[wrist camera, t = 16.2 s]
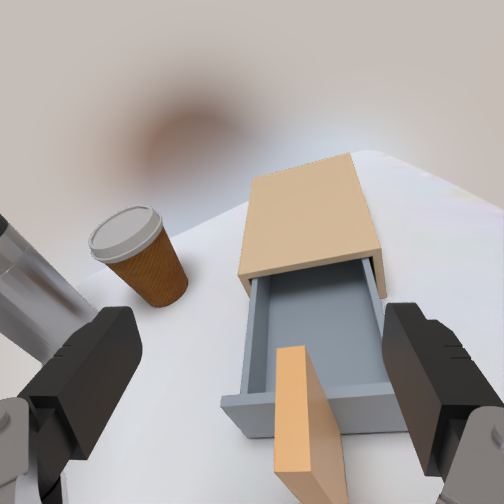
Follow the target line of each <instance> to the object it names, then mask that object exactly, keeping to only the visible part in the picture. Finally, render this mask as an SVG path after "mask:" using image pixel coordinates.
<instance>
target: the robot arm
mask: <svg viewBox="0 0 504 504" xmlns="http://www.w3.org/2000/svg"><path fill="white" fill-rule="evenodd" d="M0 333H2V334H3V335H4V336H6V337H7V338H8V339H10V340H11V341H13V342H14V343H15V344H17V345H18V346H19V347H21V348H22V349H23V350H25V351H26V352H27V353H29V354H30V355H31V356H33V357H34V358H35V359H37V360H38V361H40V362H41V363H42V364H44V366H43V367H42V369H41V370H40V371H39V372H38V373H37V374H36V375H35V377H34V378H33V379H32V380H31V381H30V382H29V383H28V384H27V386H26V387H25V388H24V389H23V390H22V391H21V392H20V393H19V395H18V396H17V397H14V398H13V397H12V398H7V399H3V400H0V504H68V494H67V483H66V476H65V473H64V471H63V469H64V467H65V466H66V464H67V462H68V461H69V460H87V459H88V458H89V456H90V454H91V452H92V450H93V448H94V446H95V445H96V443H97V441H98V439H99V437H100V435H101V434H102V432H103V430H104V428H105V426H106V424H107V422H108V421H109V419H110V417H111V415H112V413H113V411H114V409H115V408H116V406H117V404H118V402H119V400H120V398H121V397H122V395H123V393H124V391H125V389H126V387H127V385H128V384H129V382H130V380H131V378H132V376H133V374H134V373H135V371H136V369H137V367H138V365H139V363H140V361H141V357H142V342H141V338H140V335H139V331H138V328H137V324H136V321H135V317H134V314H133V311H132V309H131V308H130V307H128V306H122V307H104V308H103V309H102V310H101V311H100V312H99V313H98V312H97V311H96V310H95V309H94V308H93V307H92V306H91V305H90V304H89V303H88V302H87V301H86V300H85V299H84V298H83V297H82V296H81V295H80V294H79V293H78V292H77V291H76V290H75V289H74V288H73V287H72V286H71V285H70V284H69V283H68V282H67V281H66V280H65V279H64V278H63V277H62V276H61V275H60V274H59V273H58V272H57V271H56V270H55V269H54V268H53V267H52V266H51V265H50V264H49V263H48V262H47V261H46V260H45V259H44V258H43V257H42V256H41V255H40V254H39V253H38V252H37V251H36V250H35V249H34V248H33V247H32V246H31V244H29V243H28V242H27V241H26V240H25V239H24V238H23V237H22V236H21V235H20V234H19V233H18V232H17V231H16V230H15V229H14V228H13V227H12V226H11V225H10V224H9V223H8V222H7V221H6V219H5V218H4V217H3V216H2V215H1V214H0ZM382 357H383V362H384V366H385V368H386V371H387V374H388V377H389V379H390V382H391V385H392V387H393V390H394V393H395V396H396V398H397V401H398V404H399V407H400V409H401V412H402V415H403V417H404V420H405V423H406V426H407V428H408V431H409V434H410V437H411V439H412V442H413V445H414V448H415V450H416V453H417V456H418V458H419V461H420V464H421V467H422V469H423V472H424V475H425V476H433V477H442V479H443V482H444V487H443V490H442V492H441V494H440V495H439V497H438V499H437V502H436V504H504V403H503V402H502V401H501V399H500V398H499V396H498V395H497V394H496V392H495V391H494V389H493V388H492V386H491V385H490V384H489V382H488V381H487V379H486V378H485V377H484V375H483V374H482V372H481V371H480V369H479V368H478V367H477V365H476V364H475V362H474V361H472V360H471V357H470V355H469V354H468V352H467V351H466V350H465V348H463V345H462V344H461V343H460V341H459V340H458V338H457V337H456V335H455V334H454V333H453V331H451V330H450V329H449V328H447V327H446V326H445V325H443V324H442V323H440V322H439V321H438V320H427V319H426V318H425V316H424V315H423V313H422V311H421V310H420V308H419V307H418V305H417V304H416V303H387V305H386V309H385V318H384V327H383V336H382Z"/></svg>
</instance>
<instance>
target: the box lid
mask: <svg viewBox="0 0 504 504" xmlns="http://www.w3.org/2000/svg"><path fill="white" fill-rule="evenodd" d="M364 257H368V258H369V262H370V266H371V269H372V273H373V276H374V280H375V284H376V287H377V291H378V295H379V298H386V297H387V294H386V285H385V277H384V268H383V260H382V251H381V246H380V243H379V240H378V237H377V234H376V231H375V228H374V225H373V222H372V219H371V216H370V213H369V210H368V207H367V204H366V201H365V198H364V195H363V192H362V189H361V186H360V182H359V179H358V176H357V173H356V170H355V167H354V164H353V161H352V158H351V155H350V153H346V154H342V155H338V156H334V157H331V158H327V159H323V160H319V161H316V162H312V163H308V164H305V165H301V166H297V167H294V168H290V169H286V170H283V171H279V172H275V173H272V174H268V175H264V176H261V177H257V178H253V179H252V186H251V192H250V199H249V205H248V212H247V218H246V224H245V231H244V237H243V244H242V250H241V257H240V263H239V269H238V277H239V279H240V281H241V283H242V285H243V286H244V288H245V290H246V292H247V294H248V296H249V298H250V296H251V286H252V278H256V277H261V276H266V275H272V274H277V273H283V272H288V271H294V270H299V269H304V268H310V267H315V266H321V265H326V264H332V263H337V262H342V261H348V260H353V259H359V258H364Z"/></svg>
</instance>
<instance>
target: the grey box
mask: <svg viewBox="0 0 504 504" xmlns="http://www.w3.org/2000/svg"><path fill="white" fill-rule="evenodd" d="M384 318H385V316H384V313H383V309H382V305H381V302H380V298H379V295H378V291H377V287H376V284H375V280H374V276H373V273H372V269H371V266H370V262H369V258H368V257H364V258H359V259H353V260H348V261H342V262H337V263H332V264H326V265H321V266H315V267H310V268H304V269H299V270H294V271H288V272H283V273H277V274H272V275H266V276H261V277H256V278H252V286H251V296H250V305H249V314H248V324H247V333H246V342H245V352H244V361H243V370H242V379H241V389H240V395H228V396H222V398H221V405H220V407H221V408H222V409H223V410H224V412H225V413H226V414H227V415H228V416H229V417H230V418H231V420H232V421H233V422H234V423H235V424H236V425H237V427H238V428H239V429H240V430H241V431H242V432H243V433H244V435H245V436H246V437H247V438H257V437H275V439H274V473H275V474H276V475H277V476H278V477H279V478H280V480H281V481H282V482H283V483H284V484H285V485H286V486H287V487H288V489H289V490H290V491H291V492H292V493H293V494H294V495H295V496H296V498H297V499H298V500H299V501H300V502H301V503H302V504H348V496H347V487H346V479H345V470H344V461H343V452H342V444H341V435H340V434H347V433H369V432H391V431H408V428H407V426H406V423H405V420H404V417H403V415H402V412H401V409H400V407H399V404H398V401H397V398H396V396H395V393H394V390H393V387H392V385H391V382H390V379H389V377H388V374H387V371H386V368H385V366H384V362H383V357H382V336H383V327H384Z"/></svg>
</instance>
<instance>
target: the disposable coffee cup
mask: <svg viewBox="0 0 504 504" xmlns="http://www.w3.org/2000/svg"><path fill="white" fill-rule="evenodd" d="M88 244H89V247H90V249H91V255H92V257H93V258H94V259H96V260H98V261H100V262H103V263H105V264H106V265H107V266H108V267H109V268H110V269H111V270H112V271H114V272H115V273H116V274H117V275H118V276H119V277H120V278H121V279H122V280H124V281H125V282H126V283H127V284H128V285H129V286H130V287H131V288H133V289H134V290H135V291H136V292H137V293H138V294H139V295H140V296H141V297H143V298H144V299H145V300H146V301H147V302H148V303H149V304H150V305H151V306H154V307H163V306H167V305H169V304H171V303H173V302H174V301H176V300H177V299H178V298H179V297H181V295H182V294H183V293H184V292H185V290H186V288H187V286H188V279H187V277H186V275H185V273H184V270H183V268H182V266H181V264H180V262H179V259H178V257H177V255H176V253H175V251H174V249H173V246H172V244H171V242H170V240H169V238H168V235H167V233H166V231H165V229H164V227H163V222H162V216H161V214H160V213H159V212H158V211H156V210H154V209H153V208H152V207H151V206H149V205H146V204H139V205H135V206H131V207H128V208H125V209H123V210H121V211H119V212H117V213H115V214H113V215H112V216H110V217H109V218H107V219H106V220H105V221H104V222H102V223H101V224H100V225H99V226H98V227H97V228H96V229H95V230H94V231H93V232H92V234H91V235H90V238H89V241H88Z"/></svg>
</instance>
